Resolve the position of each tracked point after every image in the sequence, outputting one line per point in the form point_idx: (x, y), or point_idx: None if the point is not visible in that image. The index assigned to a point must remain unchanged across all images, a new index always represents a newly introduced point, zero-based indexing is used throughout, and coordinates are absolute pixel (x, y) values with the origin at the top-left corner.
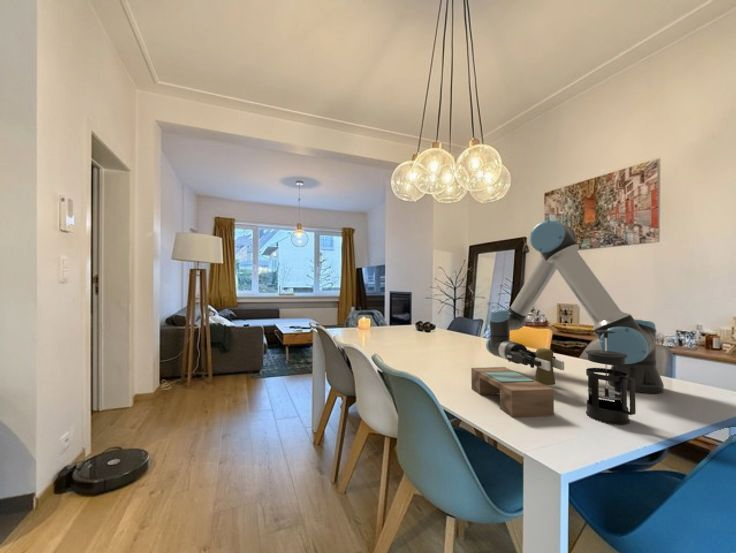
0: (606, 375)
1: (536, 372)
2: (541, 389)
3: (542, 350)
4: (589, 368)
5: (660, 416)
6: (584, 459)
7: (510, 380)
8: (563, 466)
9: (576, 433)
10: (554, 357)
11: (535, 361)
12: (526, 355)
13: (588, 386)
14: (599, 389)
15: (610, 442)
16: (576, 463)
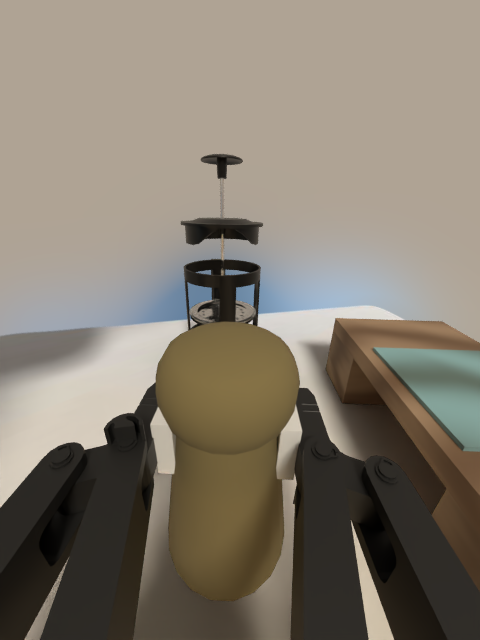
0: (247, 262)
1: (281, 501)
2: (366, 319)
3: (269, 331)
4: (232, 275)
5: (119, 346)
6: (342, 309)
7: (457, 354)
8: (368, 307)
9: (320, 332)
10: (79, 444)
11: (317, 406)
12: (347, 632)
13: (235, 319)
14: (213, 320)
15: (290, 319)
16: (353, 308)
